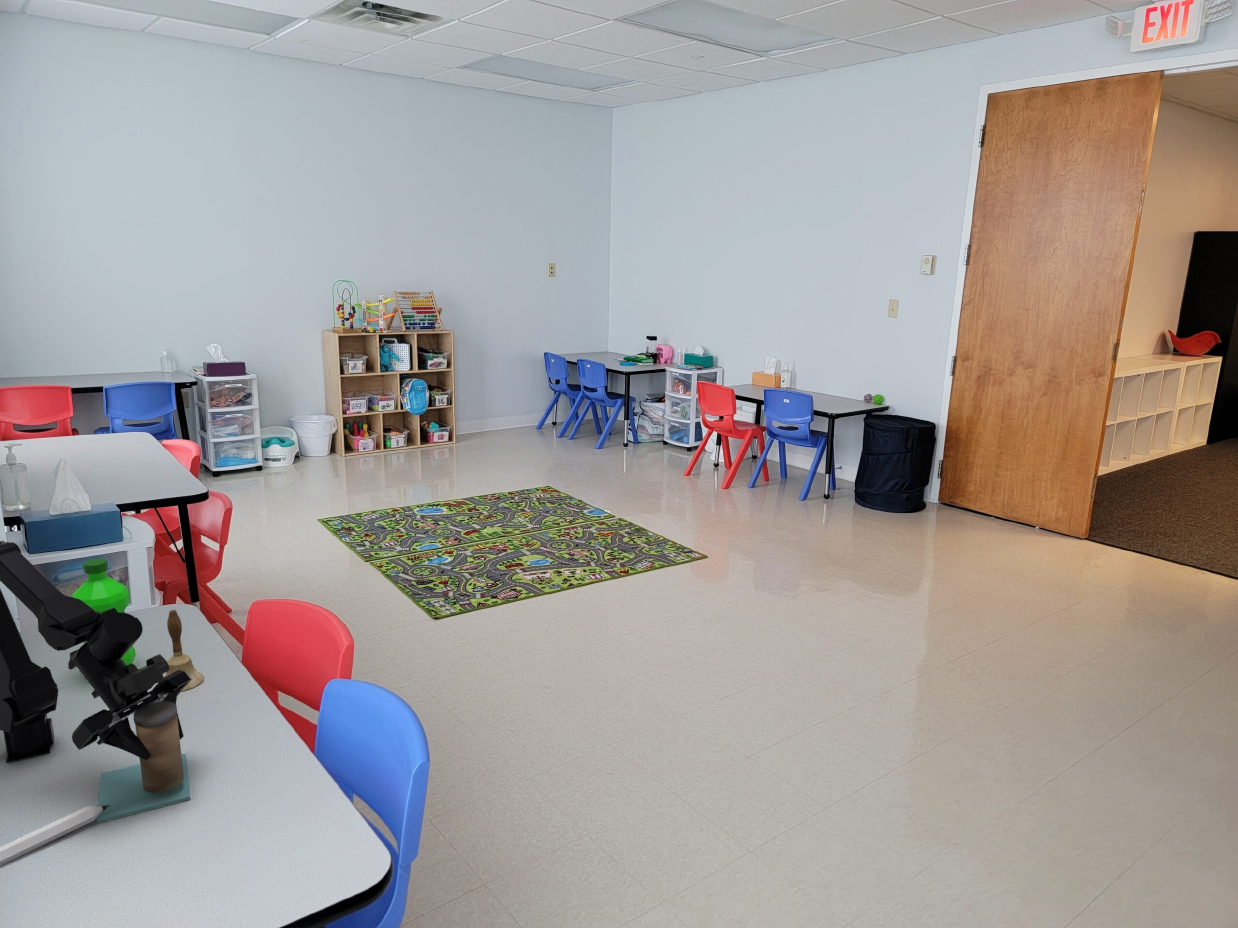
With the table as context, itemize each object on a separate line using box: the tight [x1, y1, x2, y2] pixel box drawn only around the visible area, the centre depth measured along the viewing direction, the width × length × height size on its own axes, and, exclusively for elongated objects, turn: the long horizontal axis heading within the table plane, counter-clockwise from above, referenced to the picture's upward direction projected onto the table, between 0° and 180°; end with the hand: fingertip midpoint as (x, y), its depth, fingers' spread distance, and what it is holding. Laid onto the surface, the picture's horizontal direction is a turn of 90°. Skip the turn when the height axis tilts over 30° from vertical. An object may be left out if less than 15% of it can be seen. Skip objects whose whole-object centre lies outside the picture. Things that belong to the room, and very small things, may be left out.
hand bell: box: [164, 609, 205, 692], centre depth 177 cm, size 8×8×16 cm
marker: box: [0, 804, 111, 866], centre depth 132 cm, size 3×2×16 cm
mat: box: [97, 753, 191, 824], centre depth 144 cm, size 13×14×1 cm
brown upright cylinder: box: [132, 701, 184, 793], centre depth 141 cm, size 6×6×13 cm
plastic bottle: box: [71, 558, 137, 665], centre depth 179 cm, size 10×10×25 cm
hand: (165, 747), depth 141 cm, fingers closed on brown upright cylinder, 6 cm apart
